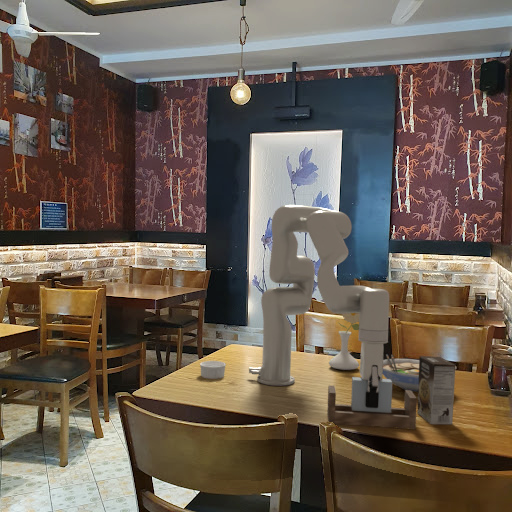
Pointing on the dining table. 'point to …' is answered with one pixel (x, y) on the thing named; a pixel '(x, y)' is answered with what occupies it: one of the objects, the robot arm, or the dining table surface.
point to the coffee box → (436, 389)
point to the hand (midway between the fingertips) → (370, 404)
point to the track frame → (373, 413)
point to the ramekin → (212, 369)
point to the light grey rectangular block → (360, 395)
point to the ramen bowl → (402, 372)
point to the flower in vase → (344, 358)
